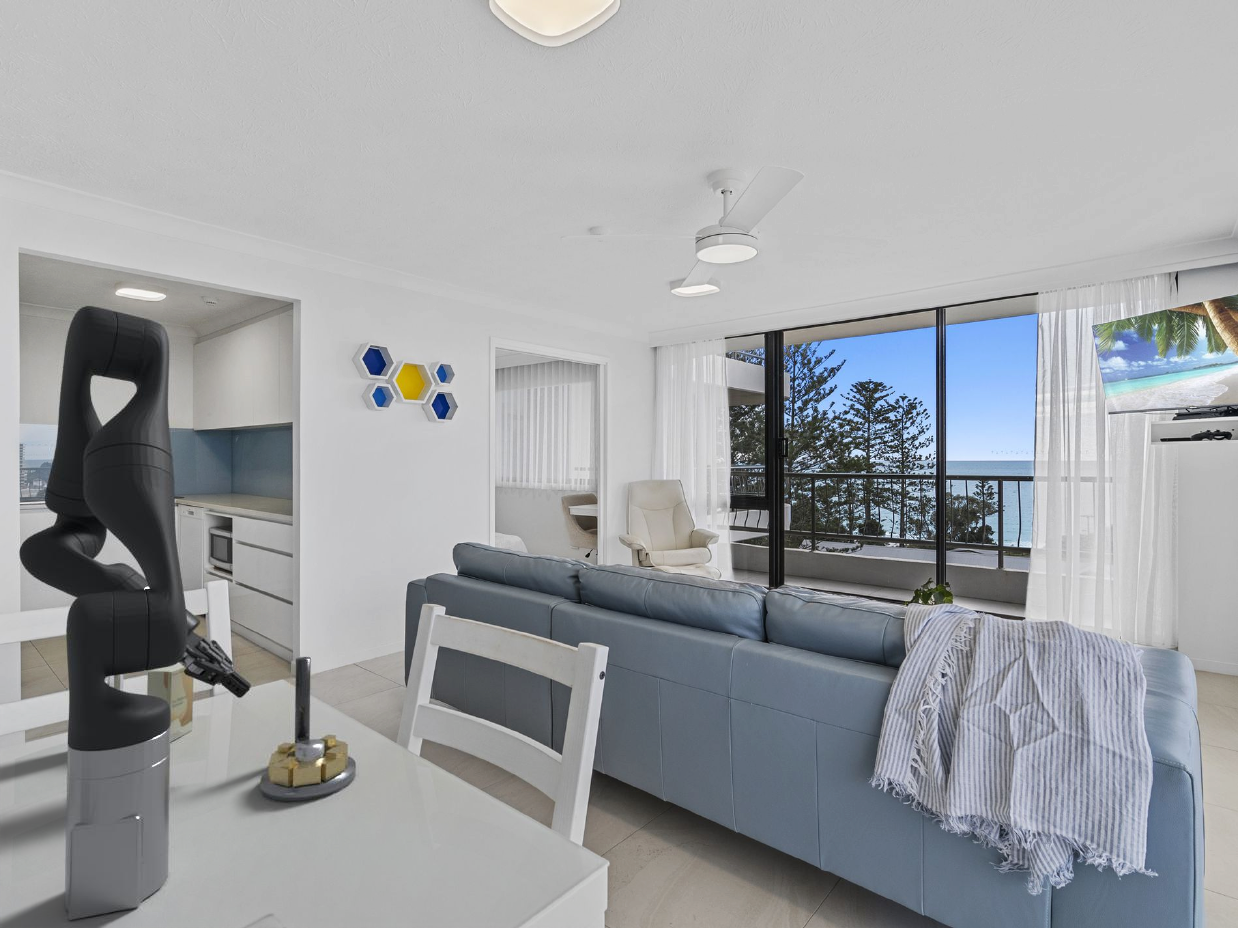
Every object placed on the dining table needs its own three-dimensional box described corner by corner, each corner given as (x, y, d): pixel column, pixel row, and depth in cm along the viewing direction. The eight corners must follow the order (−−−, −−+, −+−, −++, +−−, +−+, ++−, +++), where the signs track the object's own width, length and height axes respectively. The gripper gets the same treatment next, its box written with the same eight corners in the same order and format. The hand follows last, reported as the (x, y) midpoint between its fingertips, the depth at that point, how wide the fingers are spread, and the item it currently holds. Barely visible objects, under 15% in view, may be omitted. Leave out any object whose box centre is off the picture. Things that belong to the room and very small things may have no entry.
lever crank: (346, 778, 97) (347, 681, 97) (265, 790, 93) (266, 689, 93) (348, 736, 112) (349, 652, 112) (278, 745, 108) (279, 658, 109)
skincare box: (169, 743, 113) (170, 672, 113) (144, 743, 113) (145, 671, 114) (194, 729, 120) (195, 661, 120) (170, 729, 120) (171, 661, 120)
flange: (355, 793, 96) (355, 755, 96) (254, 809, 92) (254, 769, 92) (355, 757, 109) (356, 723, 109) (266, 769, 104) (267, 734, 104)
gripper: (165, 611, 96) (259, 686, 101) (187, 594, 109) (270, 662, 113) (121, 651, 94) (219, 726, 99) (148, 629, 107) (234, 697, 111)
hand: (246, 691), depth 106 cm, fingers closed
